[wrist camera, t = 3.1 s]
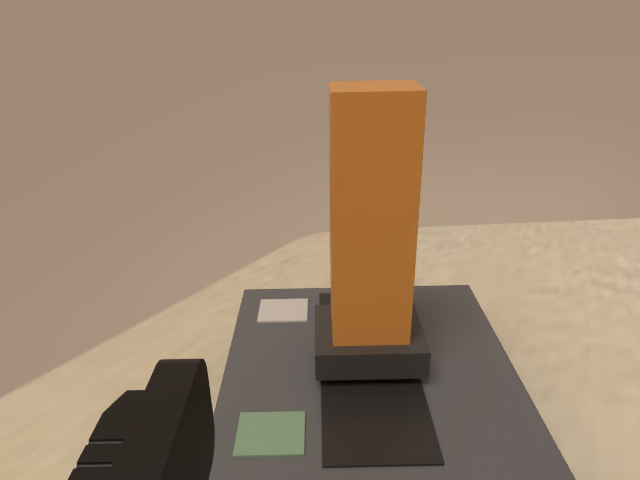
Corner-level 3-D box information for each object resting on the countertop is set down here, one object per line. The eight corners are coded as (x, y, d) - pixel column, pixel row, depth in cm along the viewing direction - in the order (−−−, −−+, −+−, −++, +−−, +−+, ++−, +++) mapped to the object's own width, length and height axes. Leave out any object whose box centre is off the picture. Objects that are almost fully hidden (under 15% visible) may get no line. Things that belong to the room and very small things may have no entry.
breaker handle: (412, 325, 23) (429, 77, 19) (428, 378, 20) (453, 93, 15) (315, 327, 23) (309, 79, 19) (315, 380, 20) (307, 95, 15)
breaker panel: (463, 330, 29) (468, 283, 27) (559, 542, 17) (577, 478, 16) (248, 334, 29) (244, 287, 27) (205, 549, 17) (195, 486, 16)
